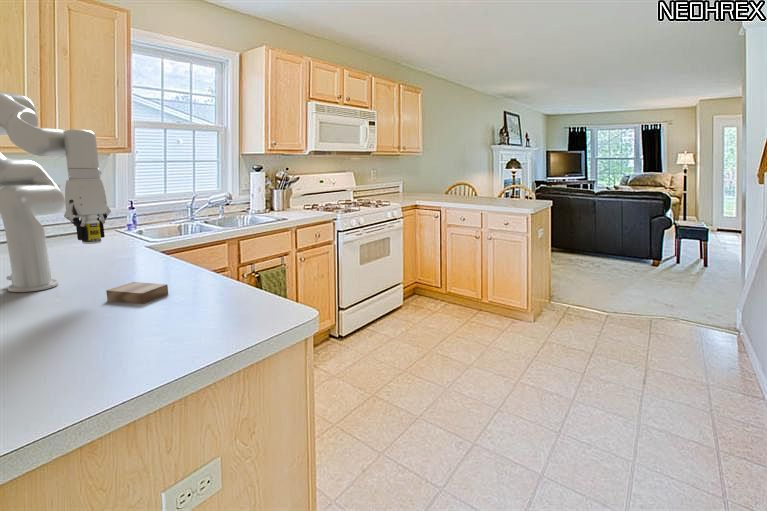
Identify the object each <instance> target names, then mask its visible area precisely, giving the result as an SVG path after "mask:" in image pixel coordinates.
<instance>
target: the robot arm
mask: <svg viewBox="0 0 767 511" xmlns="http://www.w3.org/2000/svg"><path fill="white" fill-rule="evenodd" d="M38 119H39V118H38V116H37V113H36V107H35V105H34V103H33V101H32V100H31V99H30V98H28V97H26V96H25V95H22V94H19V93H13V92H5V91H0V136H6V135H7V136H8V138H9V140H10V141H11V143H12V144H13V145H14V146H16V147H17V148H20V149H21V150H23V151H25V152H26V153H29V154H31V155H34V156H39V157H66V158H65V159H66V166H67V167H66V168H67V175H68V179H67V180H65V188H64V193H63V192H62V190H61V189H60V187H59V186H58V185H57V184H56V182H55V181H54V180H53V179H52V178H51V176H50V175H49V174H48V173H47V172H46V170H45V169H44V168H43V167H42V166H41V165H40V164H39V163H37V162H35V161H33V160H31V159H27V158H26V159H25V158H24V159H23V158H9V157H6V156H5V155H4V154H3V153H2V152H0V217H1V220H2V222H3V223H2V224H3V229H4V232H5V239H6V245H7V251H8V252H7V253H8V256H9V257H8V258H9V263H10V270H11V271H10V272H11V273H10V275H7V276H6V278H5V279H6V280H7V281H11V284H10V285H8V286H7V290H8V292H11V293H28V292H30V293H31V292H37V291H38V292H39V291H44V290H48V289H52V288H55V287H57V286H58V285H59V280H57V279H52V272H51V265H50V260H49V258H50V257H49V252H48V245H47V238H46V232H45V229H44V227H43V225H42V224H41V223H40V221H39V220H38V219H37V218H36V216H37V217H38V216H46V215H54V214H57V213H59V212H61V211H62V210H63V209H64V208H65V213H64V214H63V216H64V218H65V219H67V220H69V221H70V222H71V224H73V225H72V226H74V227H76V228H75V229H76V236H77V240H78V241H82V240H84V241H86V240H88V230H87V226H85V220H86V216H88V215H92V214H97V217H98V219H97V220H98V221H99V223H100V233H101V239H102V238H105V236H106V235H105V229H104V228H105V227H104V224H106V220H107V218H108V216H109V215H110V214H111V212H112V211H111V209H110V208H109V206H108V202H107V196H106V190H105V186H104V183H103V180H102V179H101V175H102V172H101V170H100V165H99V164H100V163H99V156H98V144H97V136H96V134H95V132H93V131H92V130H88V129H87V130H86V129H71V128H70V129H61V128H60V129H59V128H49V127H38V126H39V120H38Z"/></svg>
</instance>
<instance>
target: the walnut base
mask: <svg viewBox="0 0 767 511" xmlns="http://www.w3.org/2000/svg"><path fill="white" fill-rule="evenodd" d="M105 292H106V293H105V294H106V298H107V299H106V300H107V301H108V302H116V303H117V302H118V303H126V304H127V303H129V304H140V305H142V304H143V305H145V304H146V303H149V302H151V301H155V300H157V299H160V298H162V297H165V296H167V295H169V286H168V284H166V283H154V282H139V281H132V282H129V283H126V284H123V285H120V286H116V287H113V288H109V289H107V290H106V291H105Z"/></svg>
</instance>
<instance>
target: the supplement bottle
mask: <svg viewBox="0 0 767 511" xmlns="http://www.w3.org/2000/svg"><path fill="white" fill-rule="evenodd" d="M97 219H98V216H97V214H92V215H88V216H86V220H85V226H87V230H88V240H86V241H84V240H81V242H82V244H84V245H95V244H100V243H102V238H101V233H100V223H99V221H98V220H97Z"/></svg>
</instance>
